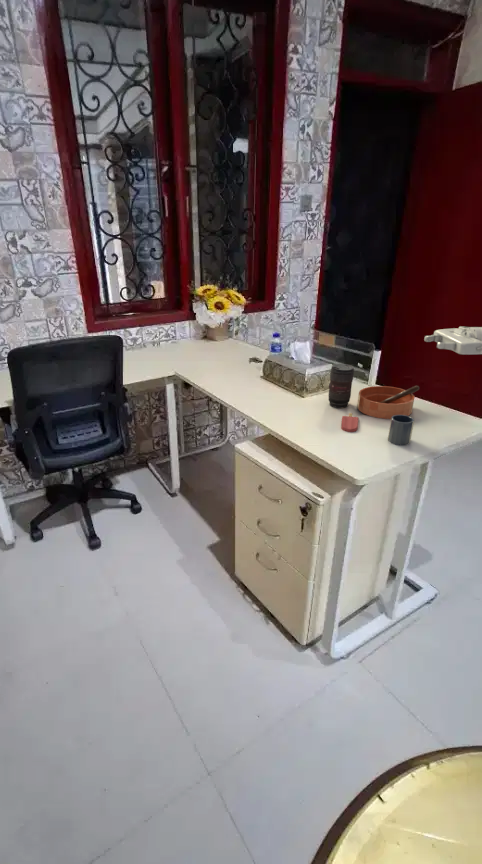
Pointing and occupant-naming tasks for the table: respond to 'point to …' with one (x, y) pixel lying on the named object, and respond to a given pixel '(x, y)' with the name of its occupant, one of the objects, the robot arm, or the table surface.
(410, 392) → the stick
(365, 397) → the bowl
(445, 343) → the robot arm
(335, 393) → the camera lens
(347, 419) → the popsicle
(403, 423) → the cup
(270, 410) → the table surface
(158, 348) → the table surface
